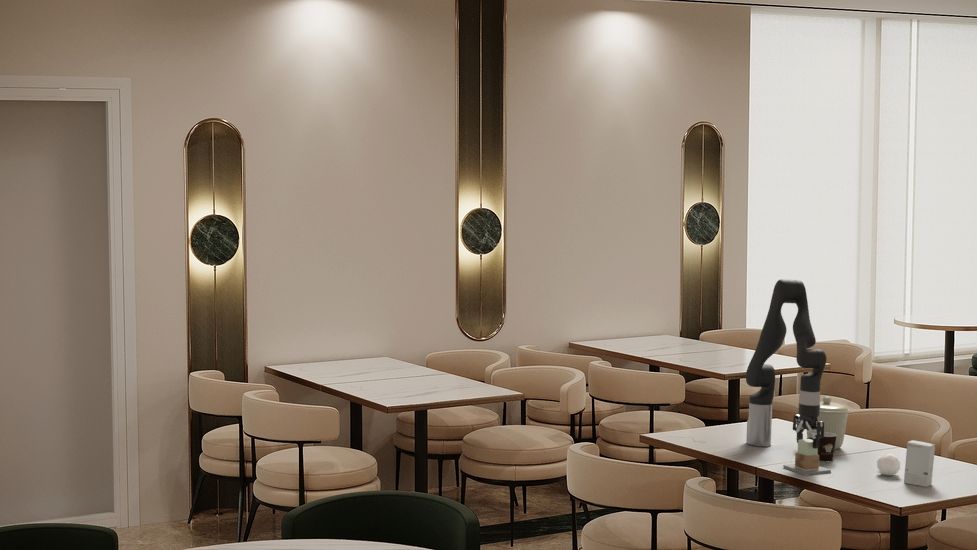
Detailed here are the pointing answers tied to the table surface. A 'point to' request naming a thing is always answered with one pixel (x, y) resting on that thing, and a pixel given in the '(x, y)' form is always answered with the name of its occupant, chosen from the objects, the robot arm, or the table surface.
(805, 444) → the sage cube
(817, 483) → the table surface
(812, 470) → the slate board
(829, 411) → the canister
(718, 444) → the table surface
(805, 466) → the walnut block
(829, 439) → the coffee mug
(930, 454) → the skincare box
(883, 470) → the white rounded lump
